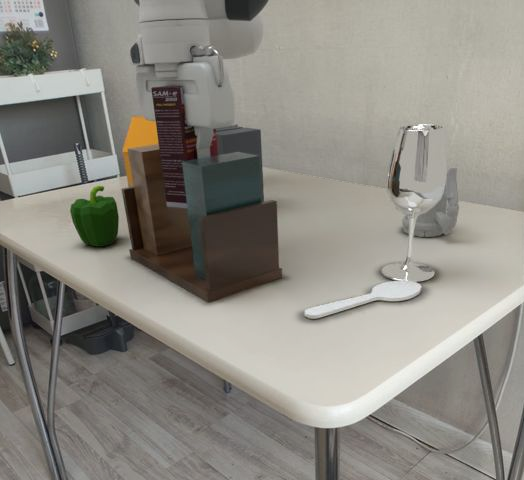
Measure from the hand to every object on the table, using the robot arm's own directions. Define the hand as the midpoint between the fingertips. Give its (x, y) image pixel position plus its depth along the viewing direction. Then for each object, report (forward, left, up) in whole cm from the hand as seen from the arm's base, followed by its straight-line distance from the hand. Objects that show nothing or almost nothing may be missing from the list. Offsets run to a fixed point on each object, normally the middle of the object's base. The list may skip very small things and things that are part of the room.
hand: (189, 158), depth 77 cm
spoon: (+27, +9, -17) cm, 33 cm away
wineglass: (+24, +21, -17) cm, 36 cm away
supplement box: (0, 0, -7) cm, 7 cm away
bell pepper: (-24, -7, -17) cm, 30 cm away
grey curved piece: (+15, +38, -17) cm, 44 cm away
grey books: (-25, +23, -17) cm, 38 cm away
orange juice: (-26, +7, -17) cm, 32 cm away
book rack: (0, 0, -17) cm, 17 cm away
